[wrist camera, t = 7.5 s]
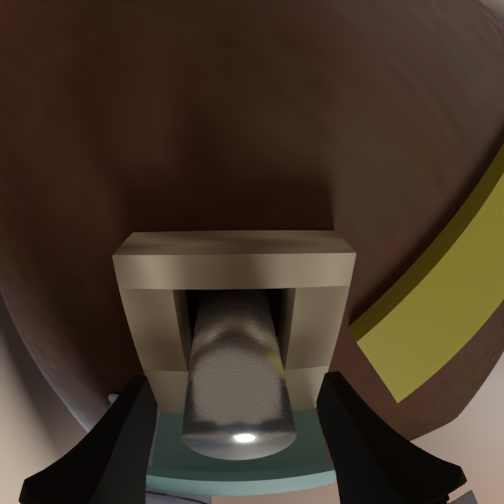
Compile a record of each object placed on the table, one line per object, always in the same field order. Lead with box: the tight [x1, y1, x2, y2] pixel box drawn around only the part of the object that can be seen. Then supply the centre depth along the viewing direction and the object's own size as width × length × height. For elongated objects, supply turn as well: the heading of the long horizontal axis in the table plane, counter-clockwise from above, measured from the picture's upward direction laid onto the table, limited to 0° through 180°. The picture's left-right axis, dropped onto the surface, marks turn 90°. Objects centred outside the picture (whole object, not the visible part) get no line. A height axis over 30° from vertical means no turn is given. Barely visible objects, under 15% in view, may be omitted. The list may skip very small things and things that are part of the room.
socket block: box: [112, 230, 356, 414], centre depth 15 cm, size 11×13×3 cm
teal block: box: [146, 409, 337, 496], centre depth 13 cm, size 11×4×6 cm, turn 89°
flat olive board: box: [348, 143, 504, 403], centre depth 16 cm, size 12×2×24 cm
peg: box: [182, 289, 297, 460], centre depth 12 cm, size 4×4×9 cm
